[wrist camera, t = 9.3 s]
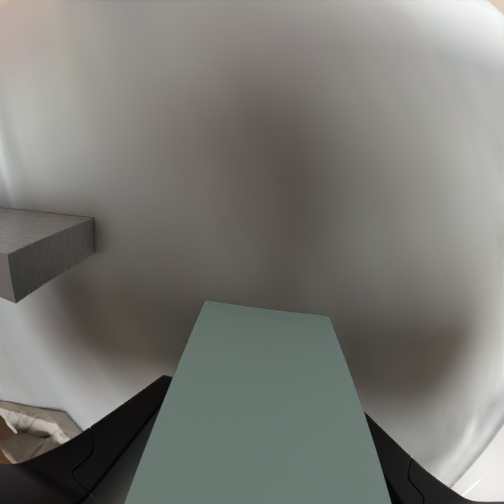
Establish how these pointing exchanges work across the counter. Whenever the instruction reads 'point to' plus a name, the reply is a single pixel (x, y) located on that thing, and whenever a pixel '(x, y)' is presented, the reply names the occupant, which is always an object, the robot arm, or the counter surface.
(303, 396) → the pale teal block
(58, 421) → the packaged product
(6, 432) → the walnut bookend
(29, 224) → the block
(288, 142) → the counter surface
